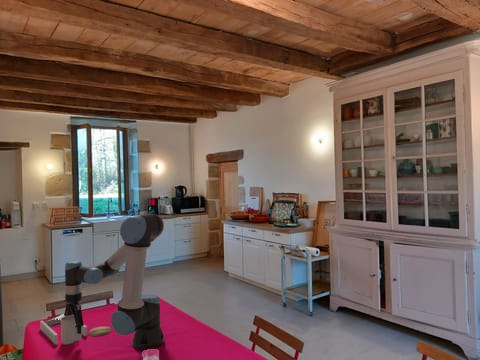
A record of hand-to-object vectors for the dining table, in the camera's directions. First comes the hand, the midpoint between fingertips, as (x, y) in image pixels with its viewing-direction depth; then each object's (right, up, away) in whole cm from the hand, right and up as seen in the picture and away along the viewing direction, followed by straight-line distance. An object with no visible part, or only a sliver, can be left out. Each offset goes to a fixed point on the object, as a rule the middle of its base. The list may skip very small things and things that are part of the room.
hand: (73, 335), depth 186 cm
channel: (-11, -4, +12) cm, 17 cm away
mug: (-2, -4, +2) cm, 5 cm away
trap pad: (-23, -4, +26) cm, 35 cm away
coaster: (+8, -3, +13) cm, 16 cm away
